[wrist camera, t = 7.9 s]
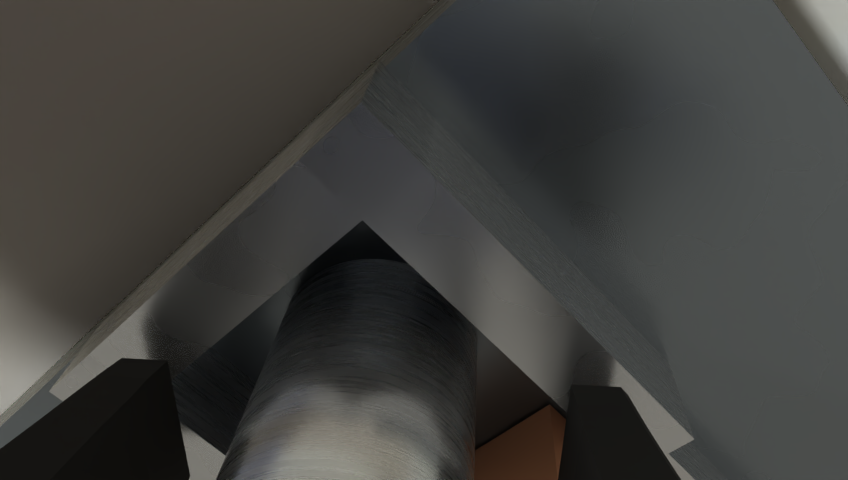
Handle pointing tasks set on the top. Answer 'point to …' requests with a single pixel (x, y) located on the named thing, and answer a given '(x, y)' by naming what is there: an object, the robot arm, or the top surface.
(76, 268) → the top surface
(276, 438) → the cylinder
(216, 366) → the slate board
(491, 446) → the orange rectangular block
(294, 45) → the top surface
